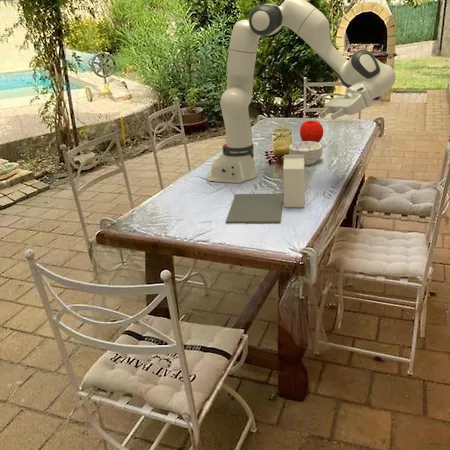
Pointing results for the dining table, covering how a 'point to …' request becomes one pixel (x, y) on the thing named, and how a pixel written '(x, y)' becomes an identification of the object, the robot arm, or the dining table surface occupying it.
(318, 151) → the paper bowls
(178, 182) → the dining table surface
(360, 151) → the dining table surface
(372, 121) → the dining table surface
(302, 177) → the milk carton
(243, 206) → the mat
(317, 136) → the apple
